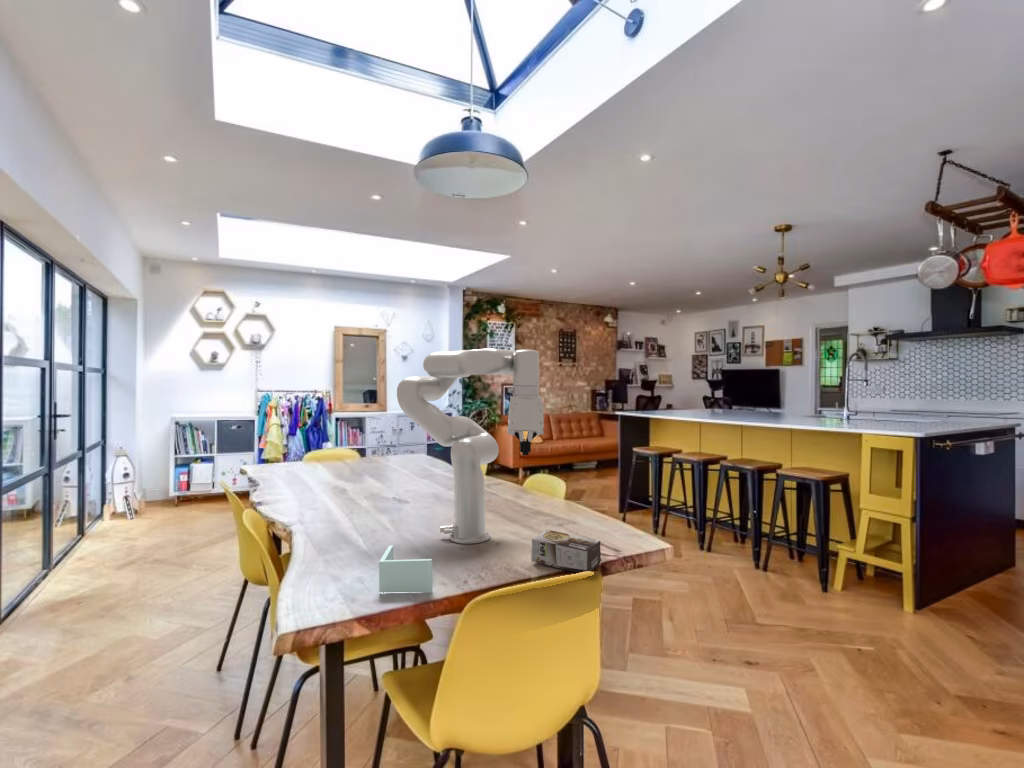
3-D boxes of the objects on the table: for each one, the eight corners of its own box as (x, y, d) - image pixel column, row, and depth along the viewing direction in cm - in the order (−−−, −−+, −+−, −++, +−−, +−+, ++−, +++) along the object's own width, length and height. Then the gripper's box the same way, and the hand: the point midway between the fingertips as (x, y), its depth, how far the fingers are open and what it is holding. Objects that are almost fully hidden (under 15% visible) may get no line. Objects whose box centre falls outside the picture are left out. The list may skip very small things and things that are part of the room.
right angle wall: (431, 592, 117) (431, 560, 117) (379, 594, 116) (379, 561, 116) (437, 573, 129) (436, 544, 129) (389, 575, 128) (389, 545, 128)
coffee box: (530, 562, 134) (587, 576, 126) (531, 538, 134) (587, 551, 125) (547, 551, 142) (601, 564, 133) (547, 528, 142) (601, 540, 133)
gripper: (501, 392, 143) (500, 456, 144) (553, 392, 145) (552, 456, 145) (499, 391, 151) (498, 453, 151) (549, 392, 152) (548, 452, 152)
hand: (525, 454), depth 148 cm, fingers closed
